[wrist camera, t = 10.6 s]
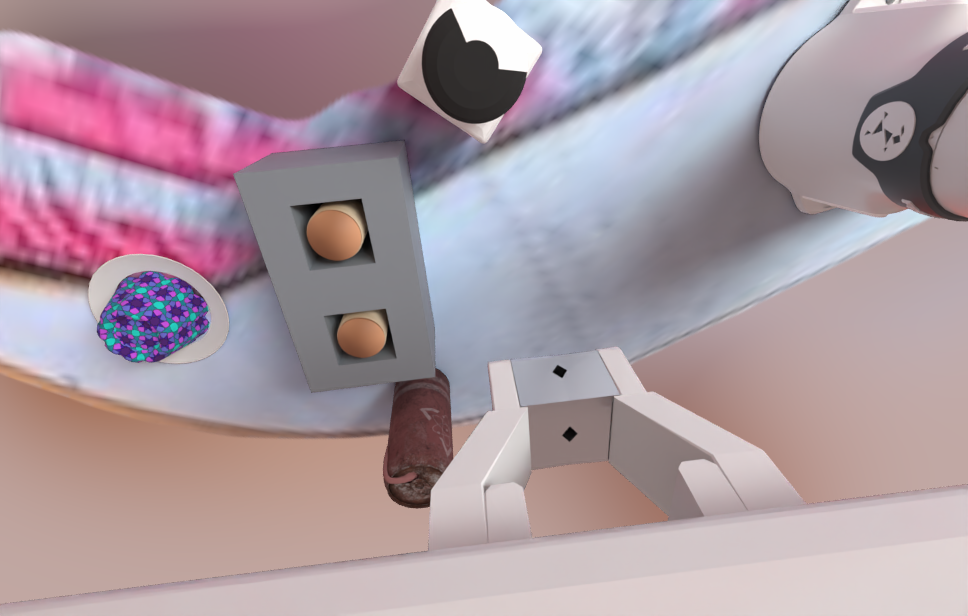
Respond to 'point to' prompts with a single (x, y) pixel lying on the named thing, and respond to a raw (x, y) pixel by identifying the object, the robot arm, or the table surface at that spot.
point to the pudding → (156, 310)
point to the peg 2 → (363, 332)
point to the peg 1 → (338, 229)
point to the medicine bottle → (469, 65)
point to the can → (418, 440)
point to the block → (351, 282)
